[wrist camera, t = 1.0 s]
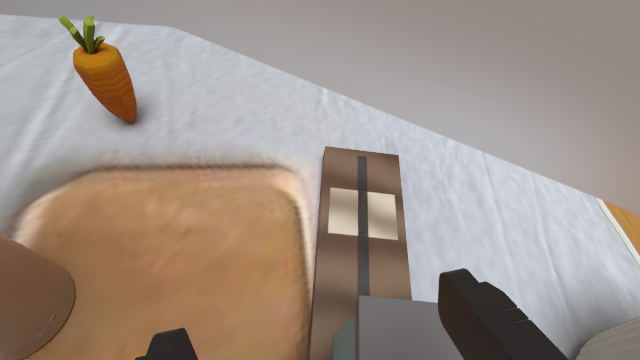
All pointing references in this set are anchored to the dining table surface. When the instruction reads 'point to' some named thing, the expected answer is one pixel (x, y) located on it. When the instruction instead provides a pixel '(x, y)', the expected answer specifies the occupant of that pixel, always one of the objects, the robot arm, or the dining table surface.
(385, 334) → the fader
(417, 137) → the dining table surface
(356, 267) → the grooved wooden base
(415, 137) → the dining table surface
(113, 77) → the carrot
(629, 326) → the canister
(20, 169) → the dining table surface
